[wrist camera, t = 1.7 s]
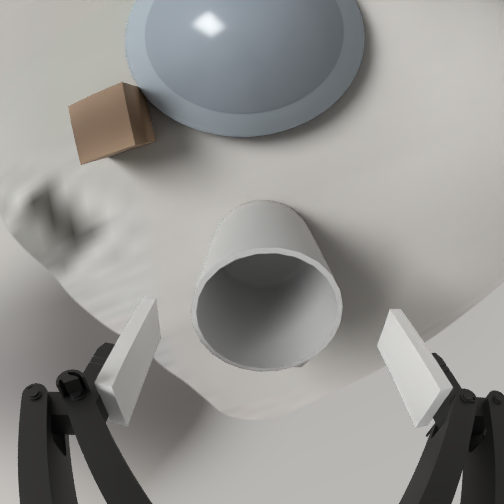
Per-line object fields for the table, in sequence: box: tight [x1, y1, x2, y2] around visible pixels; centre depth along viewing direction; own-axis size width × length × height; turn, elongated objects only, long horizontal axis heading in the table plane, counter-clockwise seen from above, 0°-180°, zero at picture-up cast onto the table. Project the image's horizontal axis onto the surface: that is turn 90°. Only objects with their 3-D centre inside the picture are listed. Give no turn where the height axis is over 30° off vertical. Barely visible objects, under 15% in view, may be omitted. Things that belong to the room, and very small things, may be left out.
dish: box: [125, 0, 365, 137], centre depth 15 cm, size 16×16×1 cm
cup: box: [191, 200, 343, 371], centre depth 18 cm, size 7×10×9 cm
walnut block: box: [68, 82, 156, 165], centre depth 17 cm, size 4×4×4 cm
